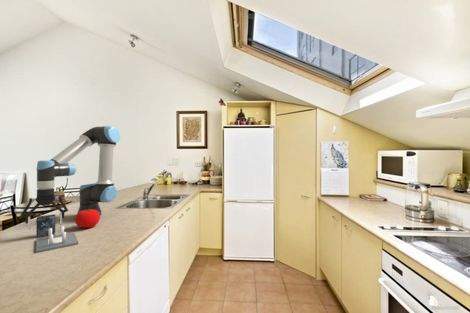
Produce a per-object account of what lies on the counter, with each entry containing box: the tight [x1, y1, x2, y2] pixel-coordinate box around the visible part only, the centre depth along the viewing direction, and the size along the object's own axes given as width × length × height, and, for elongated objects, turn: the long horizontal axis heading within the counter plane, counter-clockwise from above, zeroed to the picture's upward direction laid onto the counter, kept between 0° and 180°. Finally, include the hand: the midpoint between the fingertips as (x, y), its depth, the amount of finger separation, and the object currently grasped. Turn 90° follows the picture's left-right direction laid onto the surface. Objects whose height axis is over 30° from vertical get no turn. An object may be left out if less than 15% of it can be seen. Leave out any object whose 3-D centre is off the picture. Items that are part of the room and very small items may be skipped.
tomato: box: [74, 209, 101, 229], centre depth 144 cm, size 12×13×11 cm
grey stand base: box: [35, 225, 79, 254], centre depth 119 cm, size 16×20×6 cm
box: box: [35, 214, 56, 239], centre depth 130 cm, size 8×6×11 cm
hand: (45, 226), depth 129 cm, fingers open, 13 cm apart
